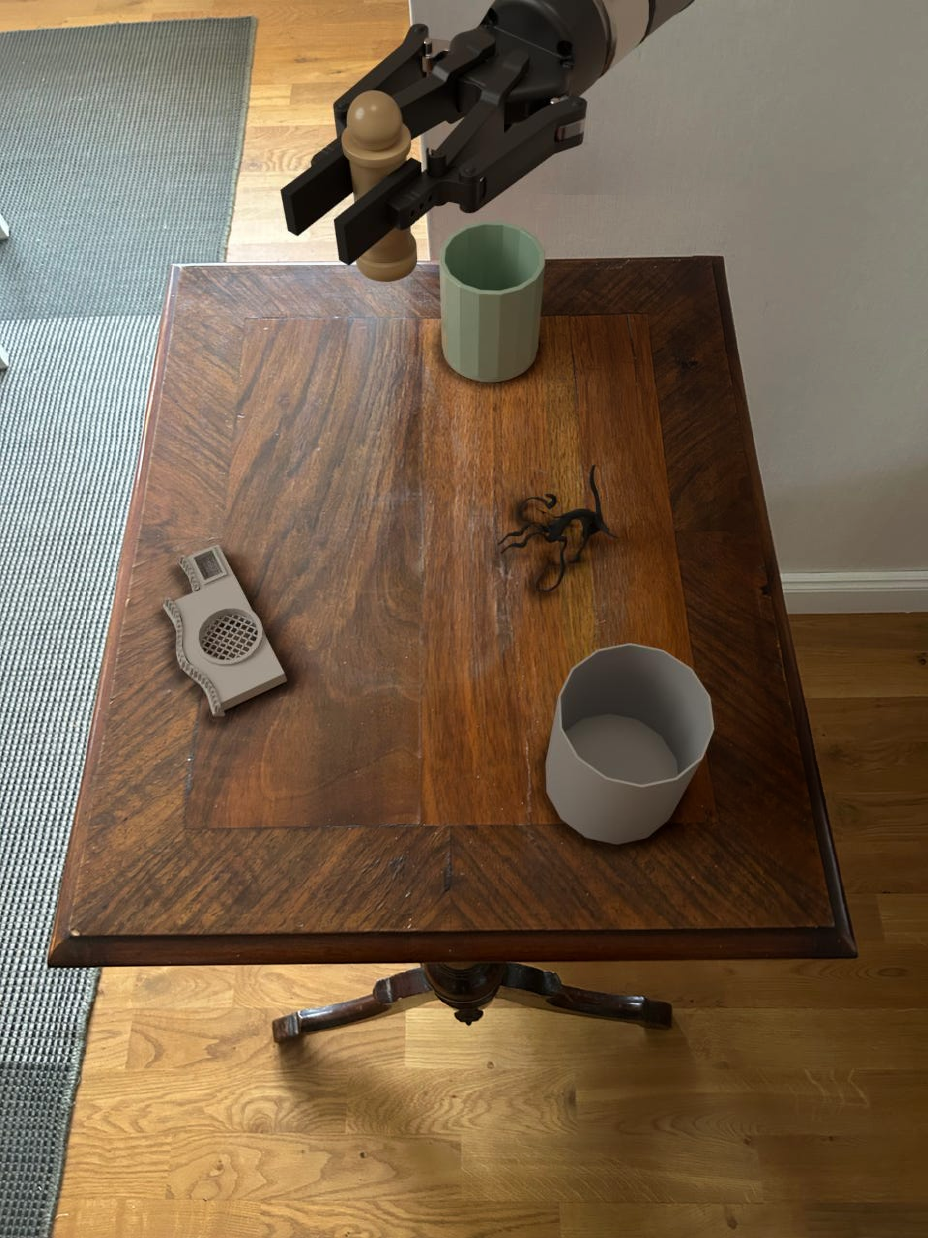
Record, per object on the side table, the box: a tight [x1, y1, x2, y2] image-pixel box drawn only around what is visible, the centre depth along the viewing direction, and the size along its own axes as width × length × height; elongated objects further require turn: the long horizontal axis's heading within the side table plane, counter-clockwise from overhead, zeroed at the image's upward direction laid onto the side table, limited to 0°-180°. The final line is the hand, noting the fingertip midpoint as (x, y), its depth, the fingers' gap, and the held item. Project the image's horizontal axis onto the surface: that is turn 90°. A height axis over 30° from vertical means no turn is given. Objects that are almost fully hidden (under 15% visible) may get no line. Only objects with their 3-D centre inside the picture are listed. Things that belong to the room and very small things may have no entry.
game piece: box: [342, 90, 418, 283], centre depth 58 cm, size 4×4×11 cm
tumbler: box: [438, 220, 546, 383], centre depth 77 cm, size 8×8×9 cm
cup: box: [545, 642, 715, 845], centre depth 59 cm, size 8×8×10 cm
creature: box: [497, 464, 619, 593], centre depth 69 cm, size 8×5×8 cm
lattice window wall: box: [162, 543, 288, 718], centre depth 67 cm, size 12×2×6 cm
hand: (315, 227), depth 55 cm, fingers closed on game piece, 3 cm apart
